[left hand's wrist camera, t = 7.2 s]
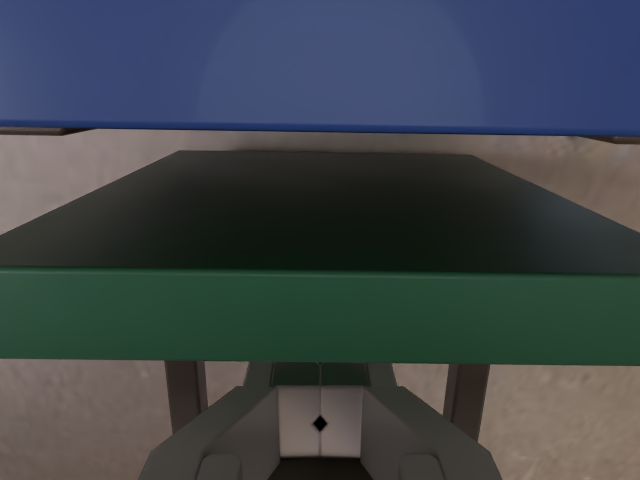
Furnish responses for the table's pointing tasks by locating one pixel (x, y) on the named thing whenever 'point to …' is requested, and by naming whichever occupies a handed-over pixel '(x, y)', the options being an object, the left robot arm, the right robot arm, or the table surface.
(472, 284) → the drawer
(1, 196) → the table surface
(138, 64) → the cabinet
